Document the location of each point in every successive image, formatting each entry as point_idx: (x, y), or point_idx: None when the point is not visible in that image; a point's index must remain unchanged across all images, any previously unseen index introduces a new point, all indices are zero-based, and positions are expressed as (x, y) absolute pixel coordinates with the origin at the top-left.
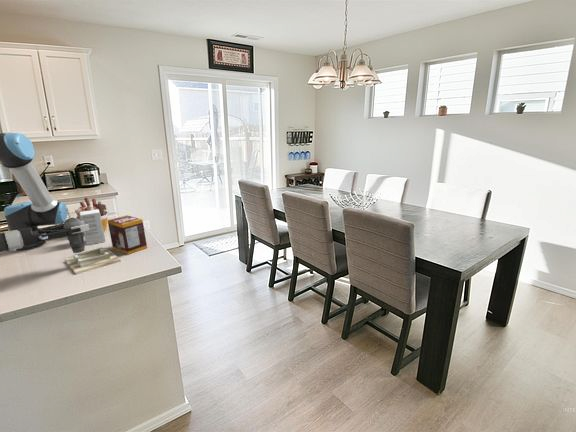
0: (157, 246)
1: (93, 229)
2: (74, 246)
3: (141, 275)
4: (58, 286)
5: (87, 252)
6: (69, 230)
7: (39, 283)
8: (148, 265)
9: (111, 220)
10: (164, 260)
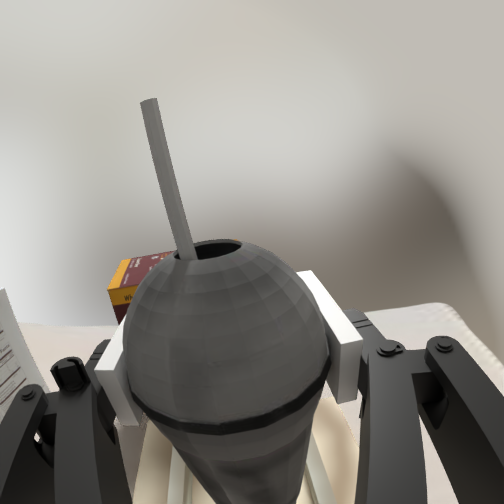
0: None
1: (11, 372)
2: (296, 490)
3: (478, 346)
4: None
5: (185, 479)
6: (451, 339)
7: None
8: (415, 340)
9: (135, 281)
10: (392, 317)
